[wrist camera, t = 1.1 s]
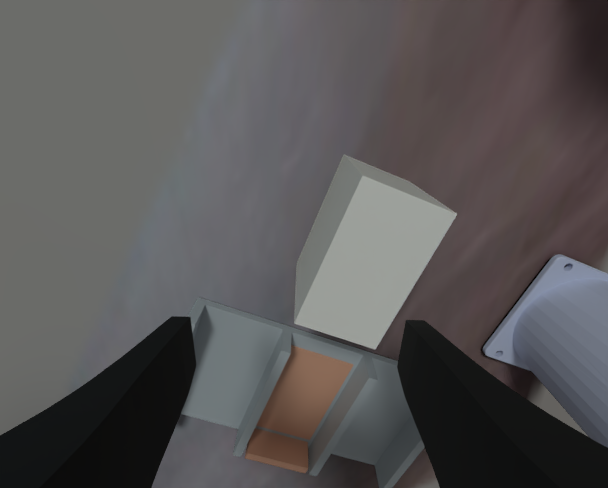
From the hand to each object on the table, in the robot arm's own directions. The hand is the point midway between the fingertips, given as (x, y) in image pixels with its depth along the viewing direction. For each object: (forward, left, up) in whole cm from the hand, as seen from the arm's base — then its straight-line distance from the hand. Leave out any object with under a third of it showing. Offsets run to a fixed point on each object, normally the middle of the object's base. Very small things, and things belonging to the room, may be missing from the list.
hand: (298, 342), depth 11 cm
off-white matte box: (-2, -2, -9) cm, 10 cm away
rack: (-4, +11, -9) cm, 15 cm away
